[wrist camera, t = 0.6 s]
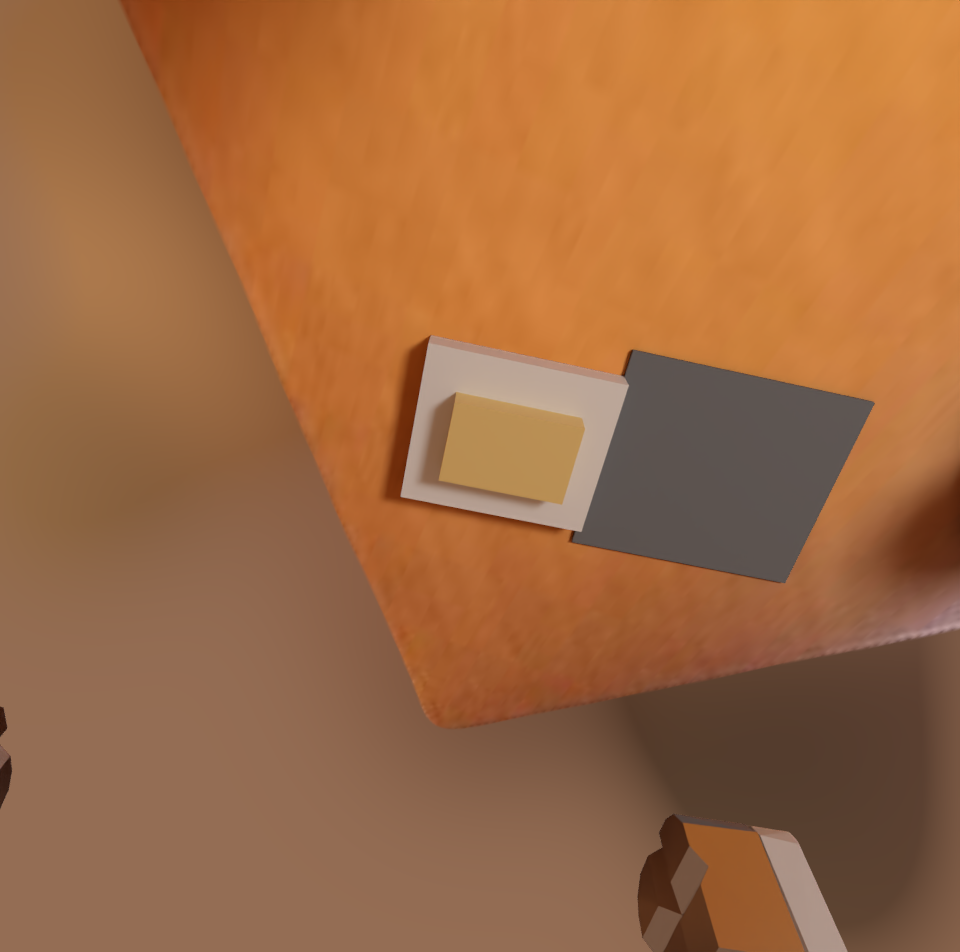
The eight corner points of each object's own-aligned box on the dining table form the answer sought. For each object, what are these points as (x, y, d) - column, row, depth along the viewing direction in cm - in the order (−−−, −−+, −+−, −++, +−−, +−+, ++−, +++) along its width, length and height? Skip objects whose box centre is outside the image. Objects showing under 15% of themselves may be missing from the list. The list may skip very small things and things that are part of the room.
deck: (430, 335, 48) (428, 343, 46) (623, 376, 49) (628, 385, 47) (403, 484, 53) (400, 496, 51) (578, 518, 54) (581, 532, 52)
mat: (632, 349, 48) (633, 350, 48) (872, 401, 49) (874, 403, 49) (571, 540, 55) (572, 541, 55) (783, 581, 56) (784, 583, 56)
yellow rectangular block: (440, 468, 50) (438, 480, 48) (456, 391, 48) (454, 401, 46) (559, 491, 51) (562, 504, 49) (581, 417, 48) (585, 428, 46)
